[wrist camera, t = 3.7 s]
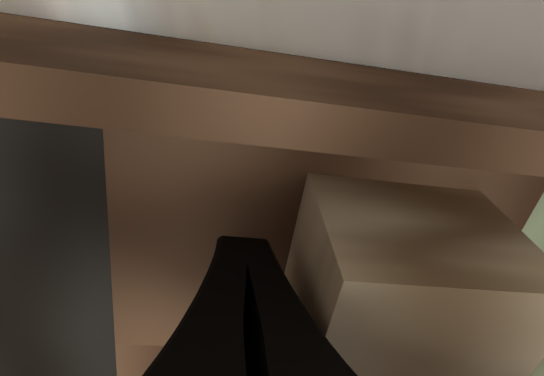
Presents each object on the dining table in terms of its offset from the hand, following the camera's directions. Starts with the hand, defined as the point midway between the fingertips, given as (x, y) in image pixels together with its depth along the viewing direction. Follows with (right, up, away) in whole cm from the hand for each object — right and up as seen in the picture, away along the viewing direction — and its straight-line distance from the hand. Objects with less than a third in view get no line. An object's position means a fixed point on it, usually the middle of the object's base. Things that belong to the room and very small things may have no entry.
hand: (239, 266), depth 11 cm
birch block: (+4, 0, +1) cm, 4 cm away
